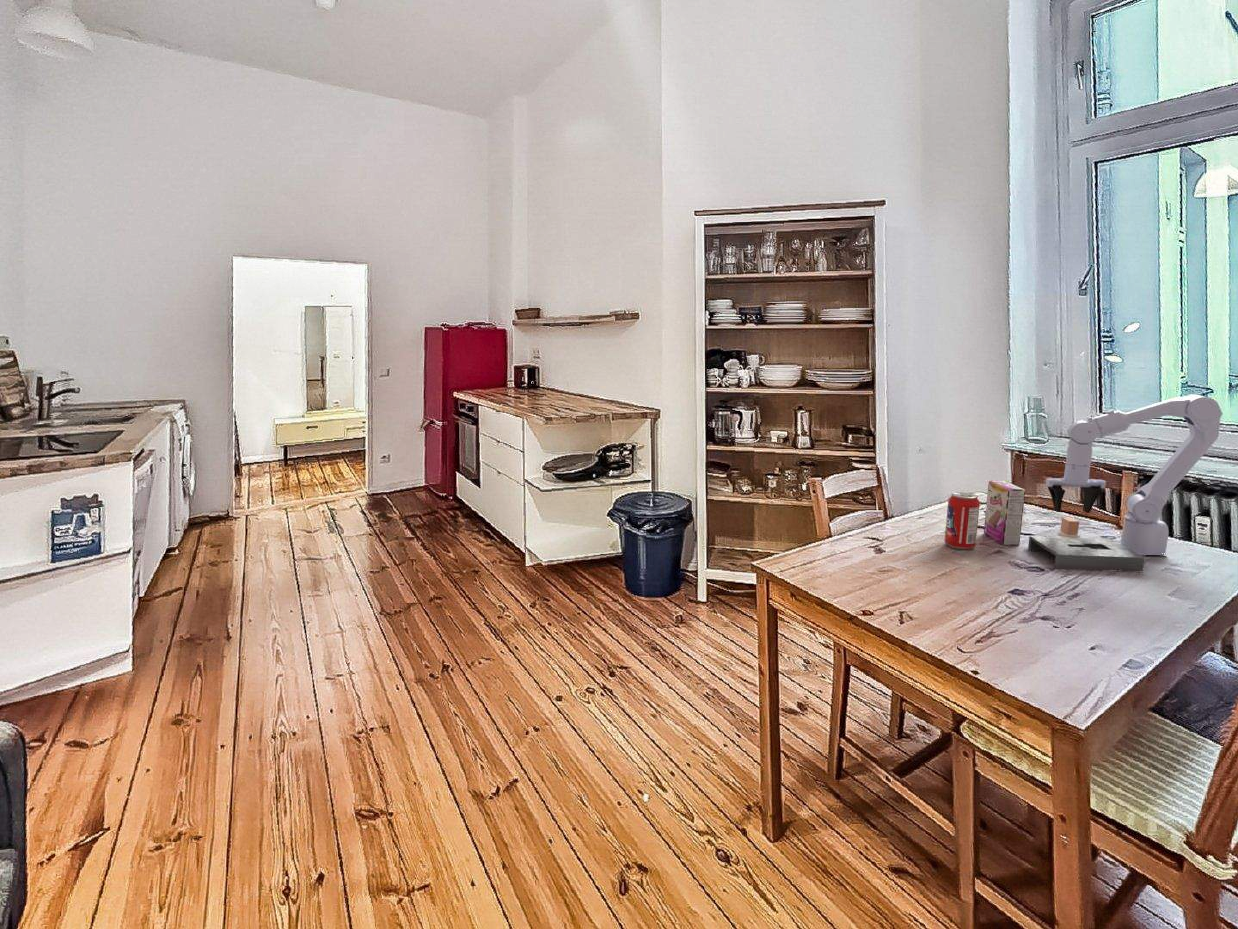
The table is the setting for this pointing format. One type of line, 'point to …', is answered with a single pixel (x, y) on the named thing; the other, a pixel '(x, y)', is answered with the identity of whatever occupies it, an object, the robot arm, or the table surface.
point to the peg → (1069, 527)
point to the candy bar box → (1004, 512)
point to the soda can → (962, 520)
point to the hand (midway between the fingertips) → (1071, 511)
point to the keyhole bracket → (1088, 553)
